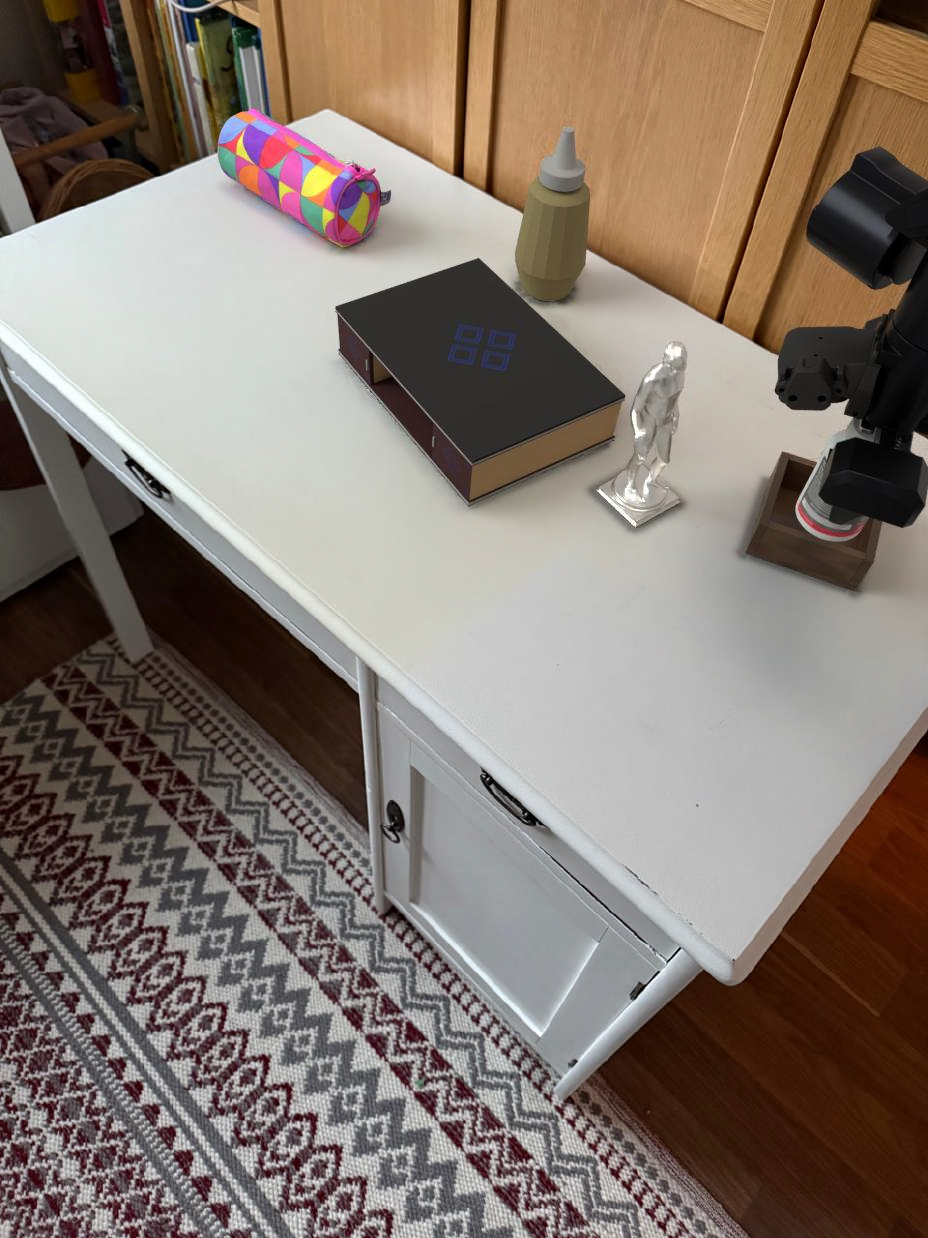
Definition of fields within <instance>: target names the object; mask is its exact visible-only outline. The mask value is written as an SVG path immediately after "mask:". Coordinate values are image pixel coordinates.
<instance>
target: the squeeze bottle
mask: <svg viewBox="0 0 928 1238" xmlns="http://www.w3.org/2000/svg"><path fill="white" fill-rule="evenodd" d="M575 136H576V135H575V128H574V127H572V126H569V125H565V126H564V127H562V129H561V132H560V134H559V138H558V140H557V143H556V146H555V149H554V152H553V154H550V155H548V156H546V157H544V158H543V159H542V160H541V162H540V169H539V176H537V177H535V178H534V179H533V180H532V181H531V182H530V184H529V186H528V191H527V194H526V195H527V196H526V200H525V205H524V210H523V214H522V218H521V223H520V228H519V231H518V235H517V236H518V237H517V241H516V246H515V250H514V262H515V266H516V270H517V275H518V278H519V281H520V282H519V283H520V286H521V289H522V290H523V291H524V293H525V294H526V295H528V296H530V297H531V298H533V299H536V300H539V301H544V302H555V301H559V300H560V301H561V300H563V299H564V298H566V297H567V296H569V294H570V293H571V291H572V290H573V288H574V286H575V284H576V282H577V281H578V280H579V277H580V276H581V274H582V272H583V270H584V269H585V266H586V264H587V263H586V262H587V249H588V234H589V219H590V205H591V189H590V187H589V186H588V185H587V184H586V182H585V175H586V164H585V163H584V162H583V161H582V160H581V159H580V158H578V157H577V153H576V137H575Z"/></svg>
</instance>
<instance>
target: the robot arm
mask: <svg viewBox="0 0 928 1238" xmlns="http://www.w3.org/2000/svg"><path fill="white" fill-rule="evenodd" d="M807 220H808V221H807V224H806V228H805V237H806V241H807V243H808V244H809V245H810V246H812V247H813V248H814V249H816V250H817V251H818V252H820V253H821V254H822V255H824V256H825V257H827V258H828V259H829V260H831V261H832V262H833V263H835V264H836V265H838V267H840V268H841V269H843V270H844V271H845V272H847V273H848V274H850V275H851V276H852V277H854V278H855V279H857V280H858V281H859V282H860V283H862V284H863V285H865V286H866V287H867V288H869V289H870V290H874V291H877V290H882V289H886V288H887V287H889V286H891V285H892V284H894V285H895V286H901V285H904V284H906V283H908V282H909V283H908V285H907V287H906V288H905V291H904V293H903V295H902V296H901V299H900V300H899V302H898V304H897V306H896V308H889V311H888V312H887V313H885V312H883V313H882V314H881V315H880V316H877V317H875V318H872V319H870V320H867V321H865V323H864V326H863V328H857V327H854V326H851V325H849V326H848V325H842V326H841V325H840V326H839V325H835V326H833V325H832V326H799V327H795V328H792V329H790V330H788V331H787V332H786V334H785V336H784V339H783V342H782V345H781V349H780V351H779V354H778V357H777V381H776V384H775V387H774V393H775V395H776V396H778V400H779V402H780V403H782V404H784V405H785V406H786V407H787V408H788V409H789V410H791V411H809V412H810V411H811V412H813V411H815V412H824V411H825V410H827V409H828V408H830V407H831V405H832V404H841V403H844V402H846V401H847V403H846V405H845V407H844V411H843V415H844V416H848V417H851V418H853V417H854V418H857V419H861V421H860V425H859V430H860V431H861V432H863V433H866V434H872V435H873V434H874V432H875V428H876V427H877V428H876V432H875V437H874V442H871V441H868V440H865V439H861V438H858V437H853V438H850V439H847V440H844V441H840V442H837V443H836V445H835V447H834V448H833V449H832V448H830V449H829V453H828V457H827V461H826V465H825V469H824V473H823V477H822V481H821V485H820V489H819V493H818V496H819V497H820V498H821V499H822V500H823V502H824V503H826V504H829V505H832V508H831V512H830V515H829V519H828V520H829V521H830V522H832V523H835V524H838V525H844V524H846V523H848V522H850V521H853V520H855V519H857V518H859V517H861V516H866V517H869V518H872V519H875V520H879V521H882V523H886V524H889V525H891V526H894V527H897V528H901V529H904V528H909V527H911V526H913V525H914V524H915V522H916V520H917V519H918V517H919V516H920V514H921V513H922V512H923V511H924V509H925V507H926V504H927V498H928V464H927V462H926V460H925V458H924V457H923V456H920V455H916V454H915V453H914V452H913V451H912V445H913V441H914V434H915V433H918V434H922V435H925V436H928V179H926V178H925V177H923V176H921V175H920V174H918V173H917V172H915V171H914V170H912V169H911V168H909V167H907V166H905V165H904V164H902V162H901V161H900V160H899V159H898V158H897V157H896V156H895V154H893V153H891V152H890V151H888V150H887V149H886V148H884V147H882V146H881V145H879V146H876V147H873V148H870V149H867V150H864V151H861V152H858V153H856V154H855V156H854V158H853V161H852V162H851V165H850V168H849V169H848V171H846V172H844V174H842V175H841V176H840V177H838V179H837V180H836V181H835V182H834V183H833V184H832V185H831V186H830V187H829V189H827V191H826V192H825V194H824V195H823V196H822V198H821V199H820V201H819V203H818V204H816V205H815V206H813V208H812V210H811V212H810V214H809V217H808V219H807ZM875 426H876V427H875ZM896 437H897V438H896ZM894 448H895V449H894Z"/></svg>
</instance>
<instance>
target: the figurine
mask: <svg viewBox="0 0 928 1238" xmlns="http://www.w3.org/2000/svg"><path fill="white" fill-rule="evenodd" d="M662 359H663V361H661V362H659V363H656V364H654V365H652V366H650V368H649V369H648V370H647V371H646V373H645V374H644V376H643V377H642V380H641V381H640V384H639V387H638V389H637V391H636V393H635V395H634V397H633V401H632V404H631V407H630V411H629V417H630V424H631V428H632V430H633V431H632V432H633V433H634V439H633V448H634V451H633V455H632V456H631V457H630V459H629V460H628V463H627V465H626V469H625V470H622V471H621V472H619V473H618V474H617V475H616V476H615V477H614V478H612V479H610V480H609V481H607V482H605V483H603V484H601V485H599V487H598V488H596V489H595V491H596V492H597V493H598V494H599V495H600V496H601V497H602V498H603V499H604V500H605V501H606V502H607V503H608V504H609V505H611V506H612V507H613V508H614V510H616V512H618V513H619V514H620V515H621V516H622V517H623V518H624V519H626V520H627V521H628V522H629V523H630V524H631V525H632V526H633V527H634V528H638V527H640V526H641V525H643V524H645V523H647V522H648V521H650V520H652V519H654V518H655V517H657V516H659V515H661V514H662V513H664V512H666V511H668V510H669V509H671V508H674V507H675V506H676V505H678V504H680V503H681V501H680V500H679V499H680V497H679V496H678V495H677V494H675V492H674V491H672V490H671V487H672V486H671V485H670V484H669V483H667V482H666V481H664V479H663V478H662V477H661V476H660V474H661V473H662V472H663V470H664V469H665V467H666V466H667V465H669V463H670V462H671V452H672V446H673V445H672V444H673V435H674V434H676V432H677V429H678V425H679V419H680V408H679V399H680V396H681V393H682V392H683V389H684V388H685V382H686V381H685V379H686V374H685V372H686V370H687V367H688V366H687V365H688V363H687V361H688V350H687V348H686V346H685V344H684V342H682V341H679V340H672V341H671V342H669V343H668V344H667V345H666V346H665V348H664V352H663V357H662ZM652 447H653V448H654V451H655V455H656V456H655V457H654V458H653V460H652V461H651V462H650V463H651V464H650V468H649V469H648V468H646V467H645V466H644V465H643V463H645V462H646V461H647V458H648V455H649V453H650V452H651V449H652Z"/></svg>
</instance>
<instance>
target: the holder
mask: <svg viewBox="0 0 928 1238" xmlns="http://www.w3.org/2000/svg"><path fill="white" fill-rule="evenodd" d="M780 452H781V453H780V455H779V457H778V459H777V461H776V464H775V466H774V467H773V470H772V472H771V474H770V476H769V479H768V480H767V483H766V486H765V490H764V493H763V495H762V499H761V502H760V505H759V508H758V512H757V513H756V517H755V519H754V520H755V521H754V523H753V527H752V529H751V533H750V536H749V539H748V542H747V545H746V548H745V550H744V551H745V554H746V555H749V556H752V557H754V558H758V559H760V560H764V561H766V562H770V563H773V564H775V565H778V566H781V567H783V568H787V569H790V570H793V571H795V572H799V573H801V574H805V575H807V576H810V577H813V578H816V579H818V580H822V581H825V582H827V583H831V584H833V585H836V586H839V587H842V588H845V589H848V590H851V591H854V592H856V590H857V588H858V587H859V586H860V584H861V582H862V581H863V580H864V578H865V577H866V575H867V574H868V572H869V570H870V569H871V568H872V566H873V564H874V563H875V559H876V553H877V549H878V544H879V540H880V536H881V530H882V526H883V522H882V521H879V520H875V519H872V518H869V519H868V521H867V522H866V524H865V525H864V527H863V528H862V530H861V531H860V532H859V534H858V535H857V536H855V537H854V538H852V539H849V540H847V541H839V542H836V541H827V540H823V539H820V538H818V537H816V536H814V535H813V534H811V533H810V532H808V531H807V530H806V529H805V528H804V527H803V526H802V525H801V523H800V522H799V520H798V519H797V516H796V504H797V501H798V499H799V497H800V495H801V493H802V491H803V489H804V487H805V485H806V483H807V481H808V479H809V477H810V476H811V474H812V472H813V470H814V468H815V466H816V464H817V462H818V461H815V460H811V459H808V458H806V457H802V456H800V455H796V454H792V453H790V452H786V451H783V450H782V451H780Z"/></svg>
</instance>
